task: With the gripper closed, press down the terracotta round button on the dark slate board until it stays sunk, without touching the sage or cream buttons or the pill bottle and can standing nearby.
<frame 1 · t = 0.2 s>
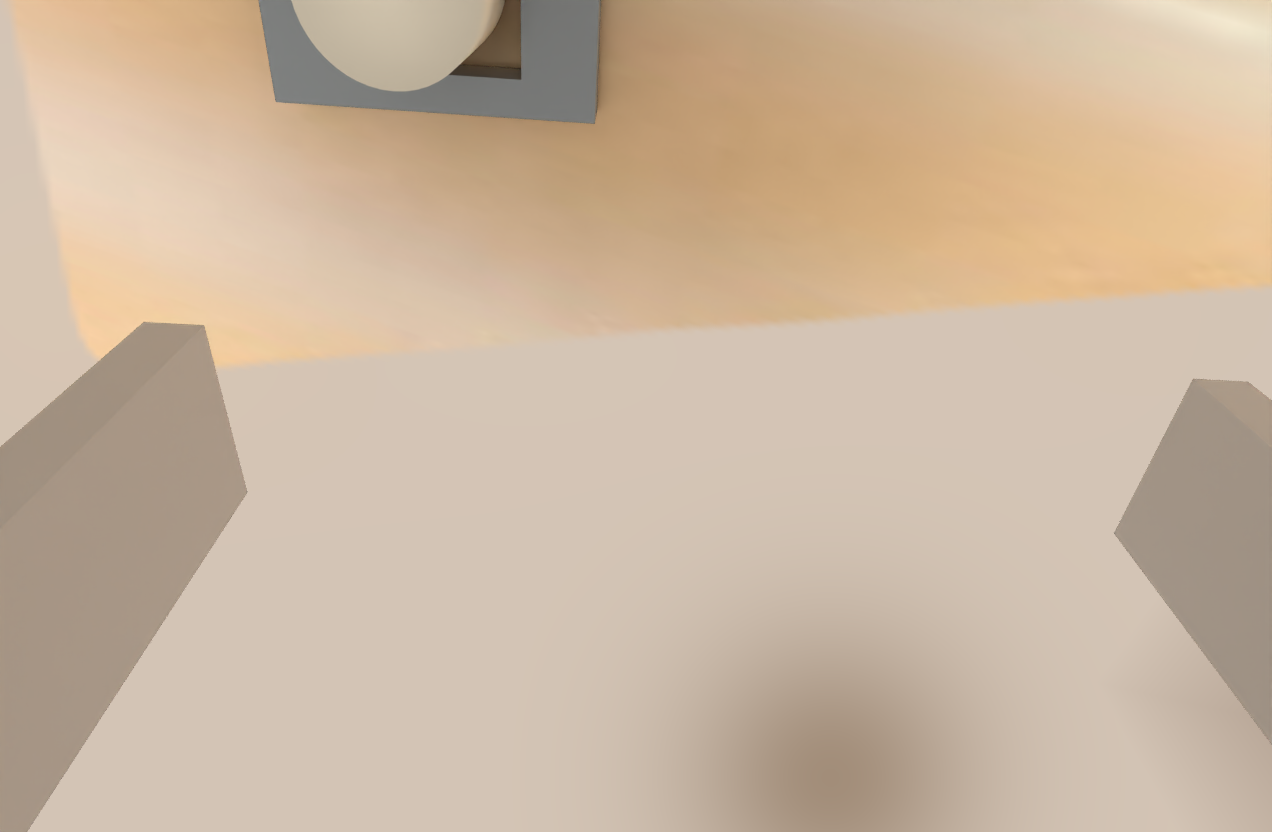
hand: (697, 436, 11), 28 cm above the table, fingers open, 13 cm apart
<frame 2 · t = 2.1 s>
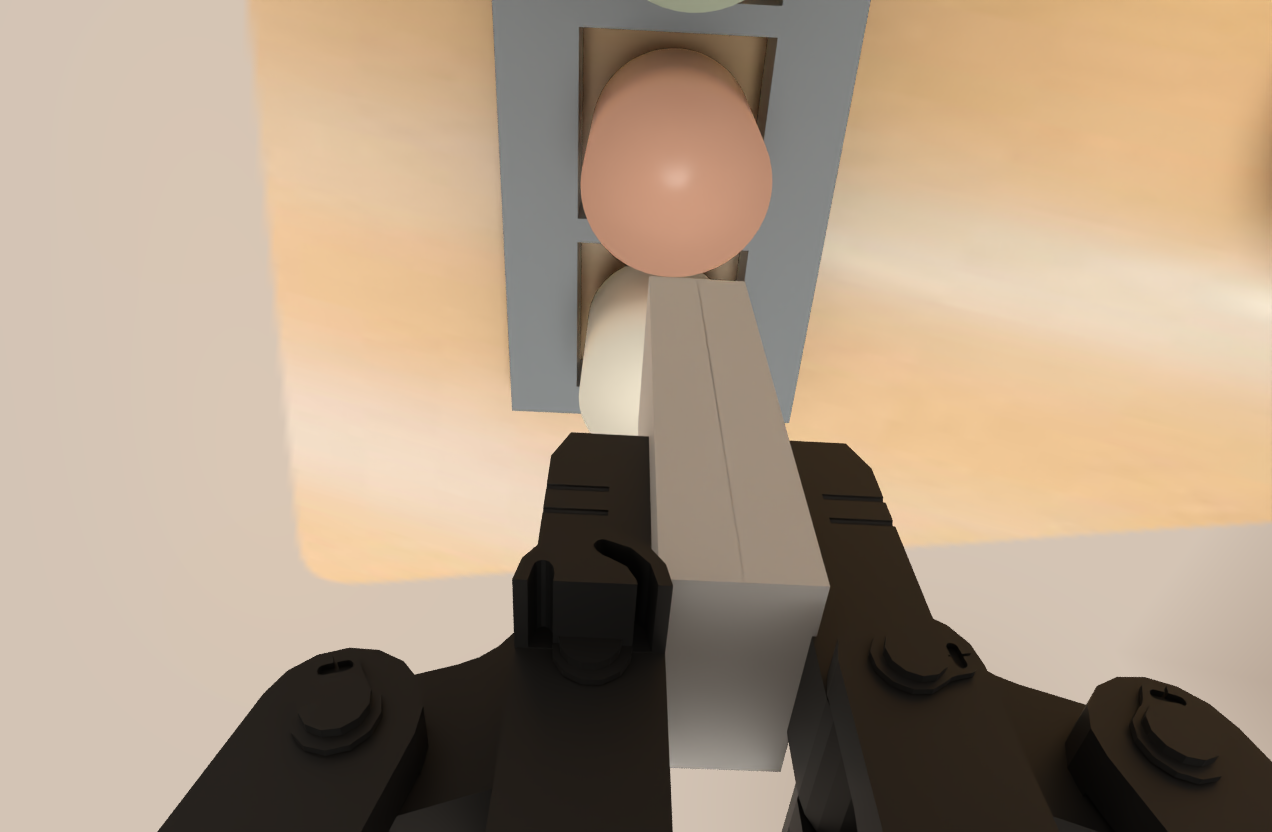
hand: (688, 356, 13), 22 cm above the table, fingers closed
cream button: (658, 359, 32), point 6 cm above the table, slide at 0.0 cm
terracotta button: (673, 159, 28), point 5 cm above the table, slide at 0.0 cm
board: (669, 117, 32), on the table
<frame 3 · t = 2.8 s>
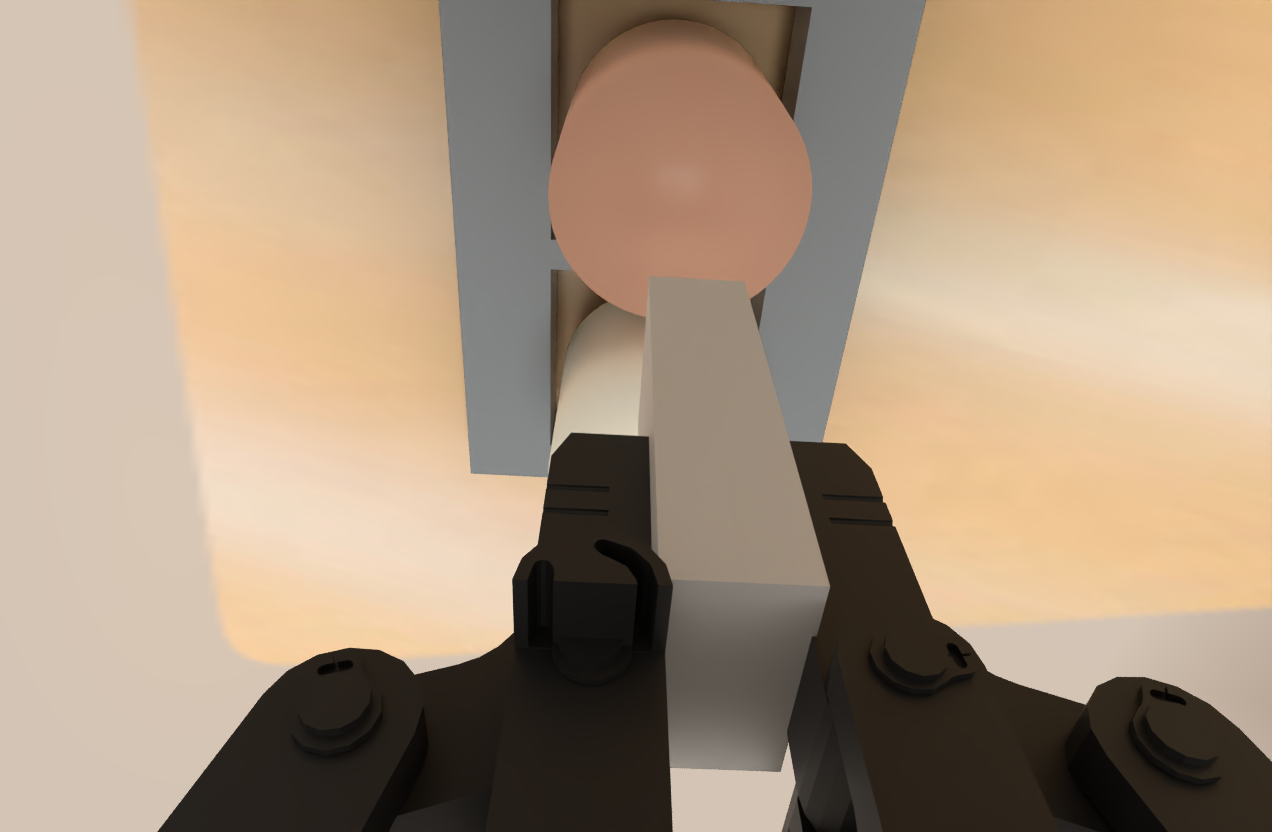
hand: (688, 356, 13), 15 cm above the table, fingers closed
cream button: (652, 419, 25), point 5 cm above the table, slide at 0.0 cm
terracotta button: (674, 164, 21), point 5 cm above the table, slide at 0.0 cm
board: (668, 112, 25), on the table
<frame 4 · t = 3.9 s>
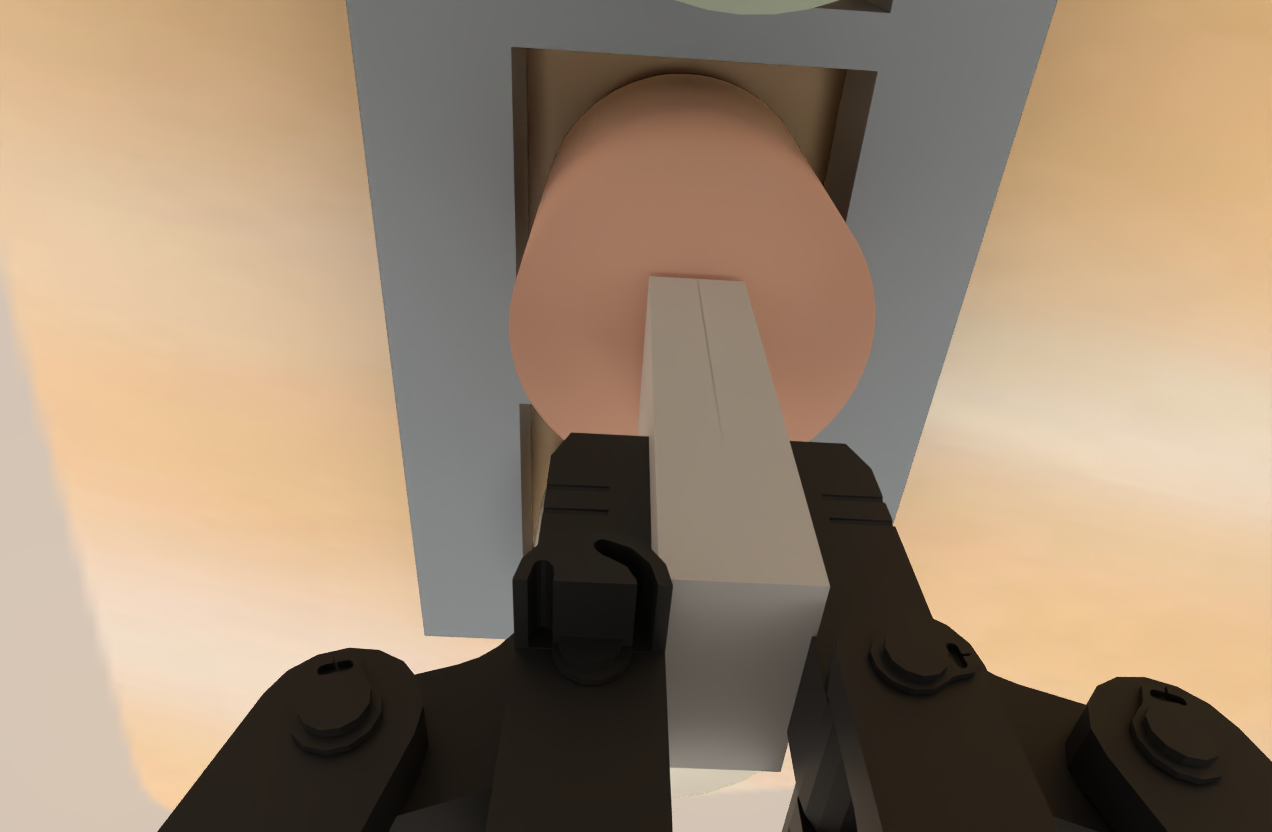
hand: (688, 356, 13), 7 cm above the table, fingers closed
cream button: (654, 606, 19), point 6 cm above the table, slide at 0.0 cm
terracotta button: (682, 267, 16), point 4 cm above the table, slide at 1.4 cm, touching gripper
board: (674, 198, 19), on the table
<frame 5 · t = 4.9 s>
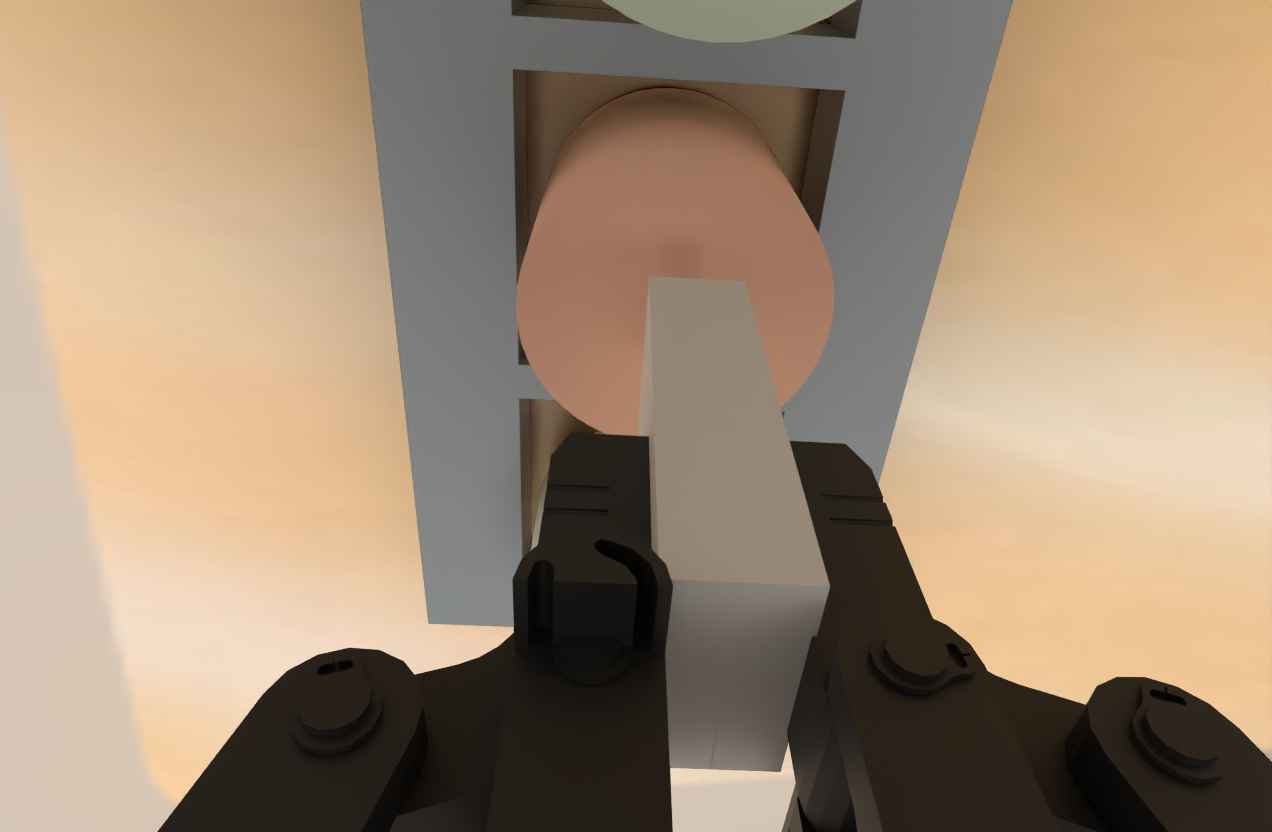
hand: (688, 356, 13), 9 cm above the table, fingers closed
cream button: (645, 586, 20), point 6 cm above the table, slide at 0.0 cm
terracotta button: (668, 257, 18), point 4 cm above the table, slide at 2.0 cm
board: (663, 207, 21), on the table
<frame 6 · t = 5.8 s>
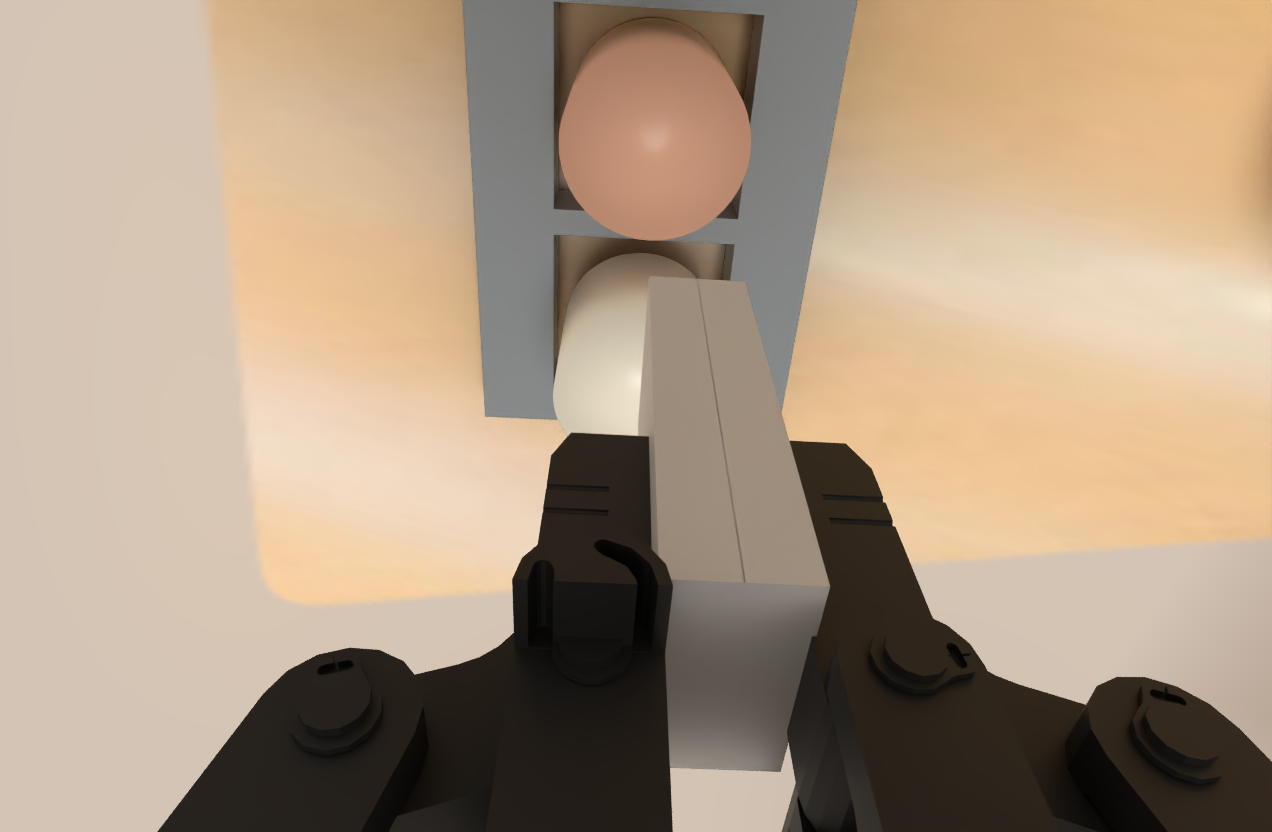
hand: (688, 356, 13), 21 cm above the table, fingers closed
cream button: (639, 358, 30), point 6 cm above the table, slide at 0.0 cm
terracotta button: (653, 125, 28), point 4 cm above the table, slide at 2.0 cm
board: (651, 103, 30), on the table
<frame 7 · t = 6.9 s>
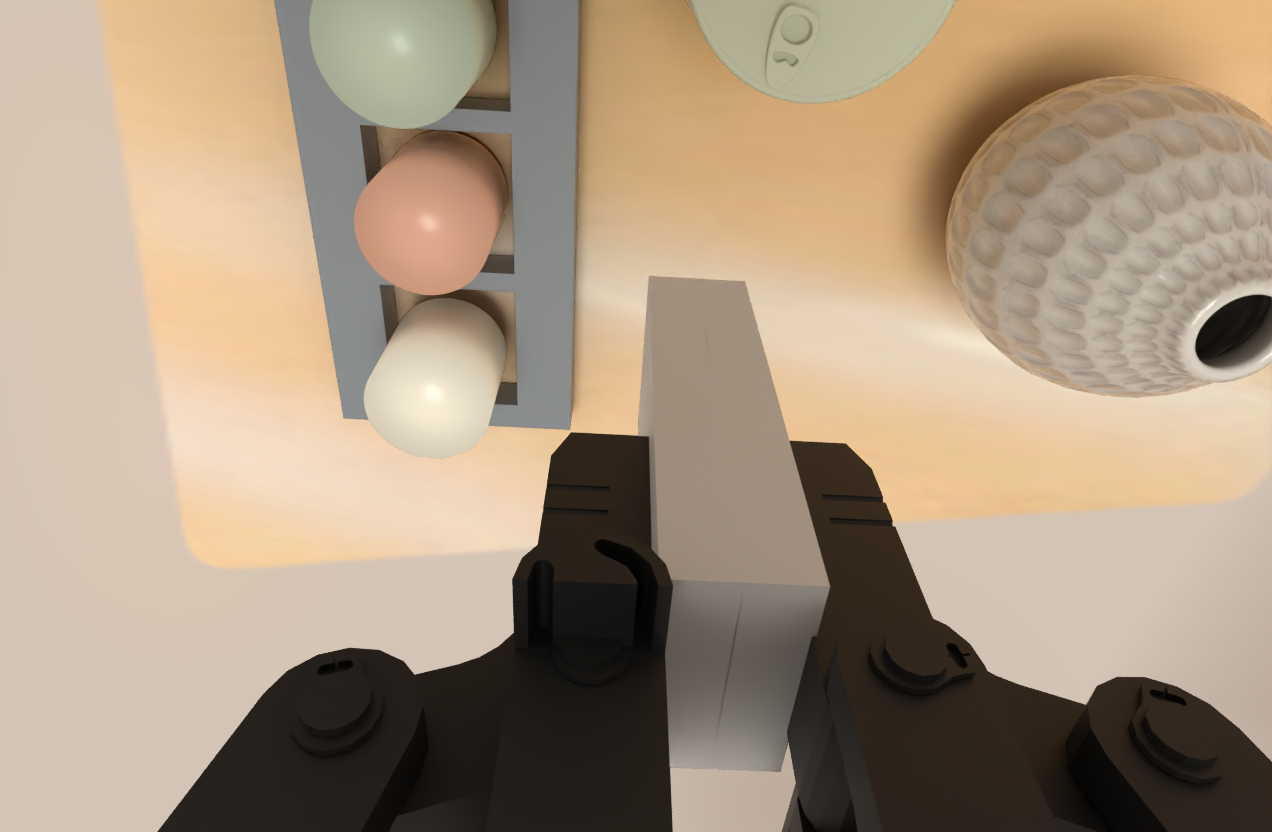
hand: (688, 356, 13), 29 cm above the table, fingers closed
cream button: (440, 376, 41), point 6 cm above the table, slide at 0.0 cm
terracotta button: (436, 210, 38), point 4 cm above the table, slide at 2.0 cm
sage button: (411, 33, 32), point 5 cm above the table, slide at 0.0 cm
vase: (1034, 183, 41), on the table
board: (450, 188, 41), on the table
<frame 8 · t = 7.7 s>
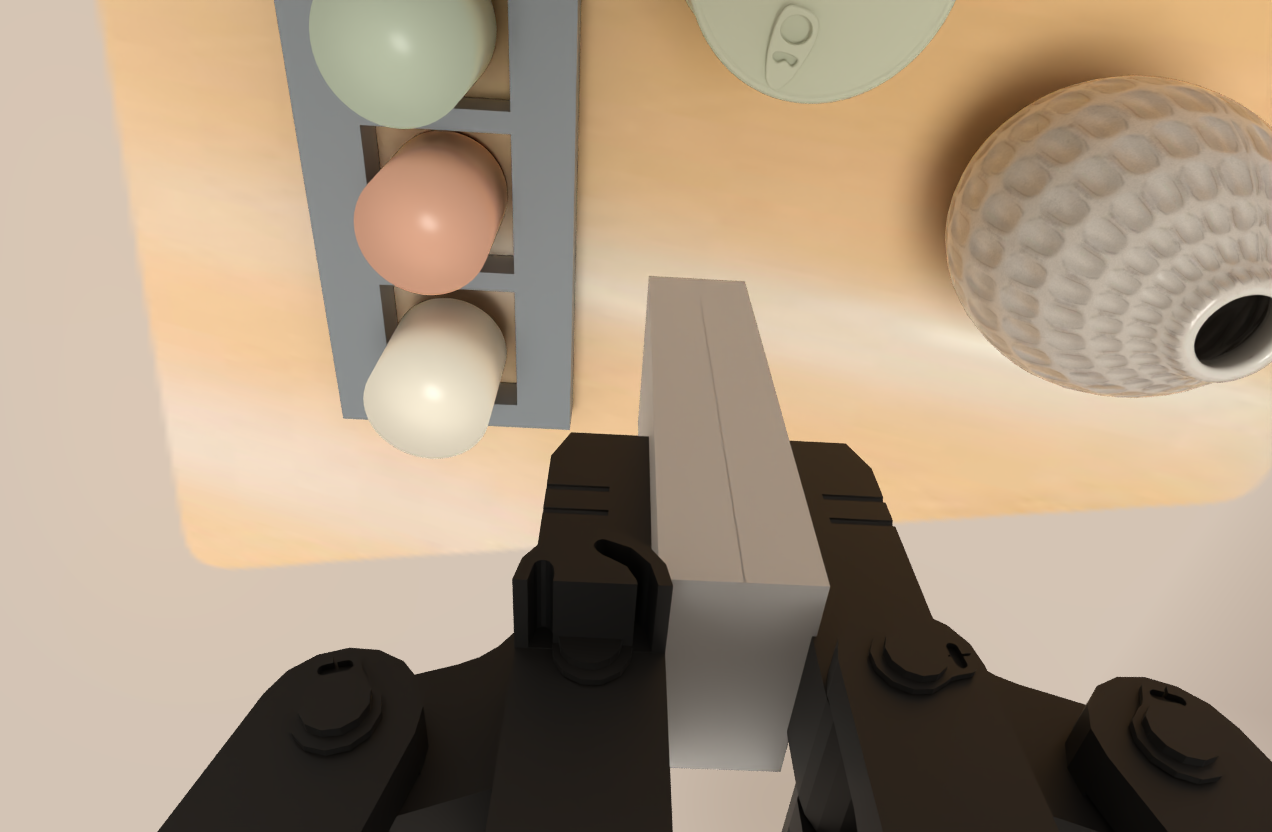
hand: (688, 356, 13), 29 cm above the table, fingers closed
cream button: (439, 376, 41), point 6 cm above the table, slide at 0.0 cm
terracotta button: (436, 210, 38), point 4 cm above the table, slide at 2.0 cm
sage button: (410, 33, 32), point 6 cm above the table, slide at 0.0 cm
vase: (1034, 183, 41), on the table
board: (450, 188, 41), on the table
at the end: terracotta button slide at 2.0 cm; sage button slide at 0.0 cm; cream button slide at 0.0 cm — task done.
